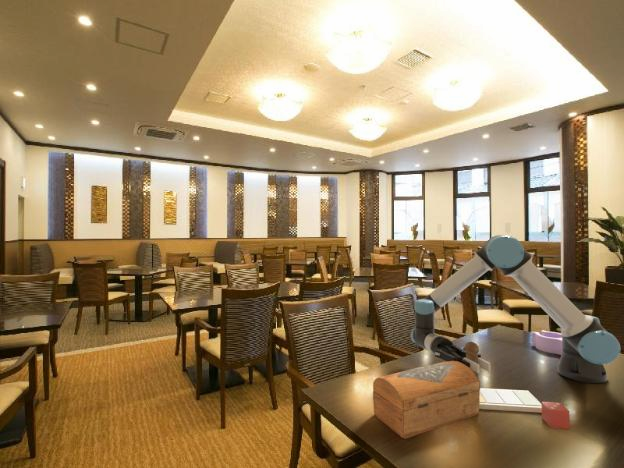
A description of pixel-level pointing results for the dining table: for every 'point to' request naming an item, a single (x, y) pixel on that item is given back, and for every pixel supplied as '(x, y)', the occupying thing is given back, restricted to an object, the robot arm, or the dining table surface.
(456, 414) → the wooden box
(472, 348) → the pawn
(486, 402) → the board
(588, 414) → the dining table surface
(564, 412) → the die
